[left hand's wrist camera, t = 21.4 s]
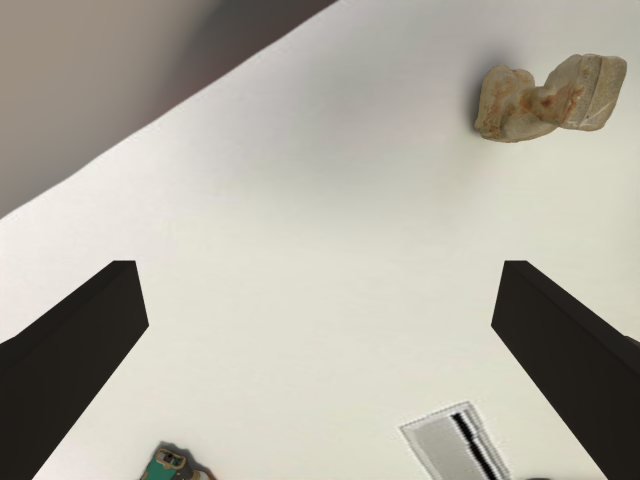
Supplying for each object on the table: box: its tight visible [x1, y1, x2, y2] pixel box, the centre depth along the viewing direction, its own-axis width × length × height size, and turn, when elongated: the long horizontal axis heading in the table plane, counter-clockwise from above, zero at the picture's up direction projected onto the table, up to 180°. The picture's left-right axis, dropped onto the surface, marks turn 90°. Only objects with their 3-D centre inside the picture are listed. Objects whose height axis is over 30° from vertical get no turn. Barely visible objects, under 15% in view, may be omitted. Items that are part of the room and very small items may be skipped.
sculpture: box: [474, 54, 627, 143], centre depth 31 cm, size 6×7×15 cm
